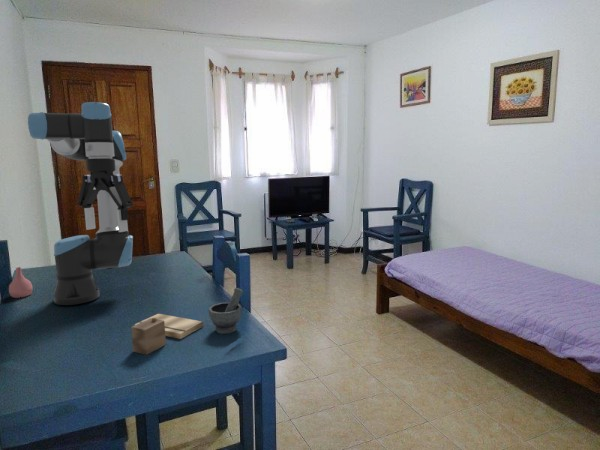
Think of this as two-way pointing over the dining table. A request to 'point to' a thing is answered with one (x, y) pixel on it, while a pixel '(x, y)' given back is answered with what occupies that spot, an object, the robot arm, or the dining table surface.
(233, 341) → the dining table surface
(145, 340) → the wooden block
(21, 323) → the dining table surface
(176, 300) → the dining table surface
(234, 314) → the mortar and pestle
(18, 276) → the pink teardrop-shaped piece
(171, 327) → the plank
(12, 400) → the dining table surface
